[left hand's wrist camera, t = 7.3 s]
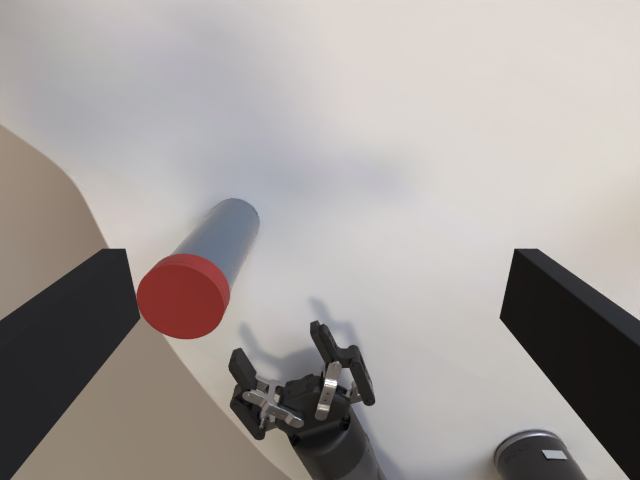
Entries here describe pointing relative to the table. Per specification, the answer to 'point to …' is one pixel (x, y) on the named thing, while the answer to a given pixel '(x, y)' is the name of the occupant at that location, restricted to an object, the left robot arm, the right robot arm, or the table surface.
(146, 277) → the lid
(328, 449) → the right robot arm
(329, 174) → the table surface
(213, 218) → the jar
